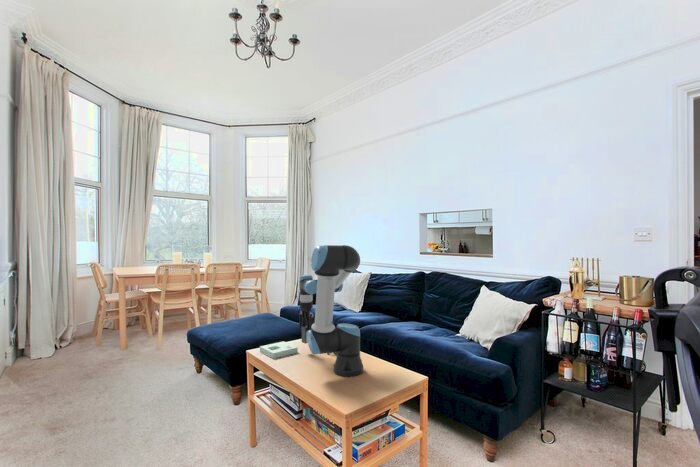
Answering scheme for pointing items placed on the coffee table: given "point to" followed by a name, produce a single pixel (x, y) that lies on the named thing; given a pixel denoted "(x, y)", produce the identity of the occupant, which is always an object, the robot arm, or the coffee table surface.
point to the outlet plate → (278, 349)
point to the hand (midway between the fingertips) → (306, 341)
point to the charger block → (304, 333)
